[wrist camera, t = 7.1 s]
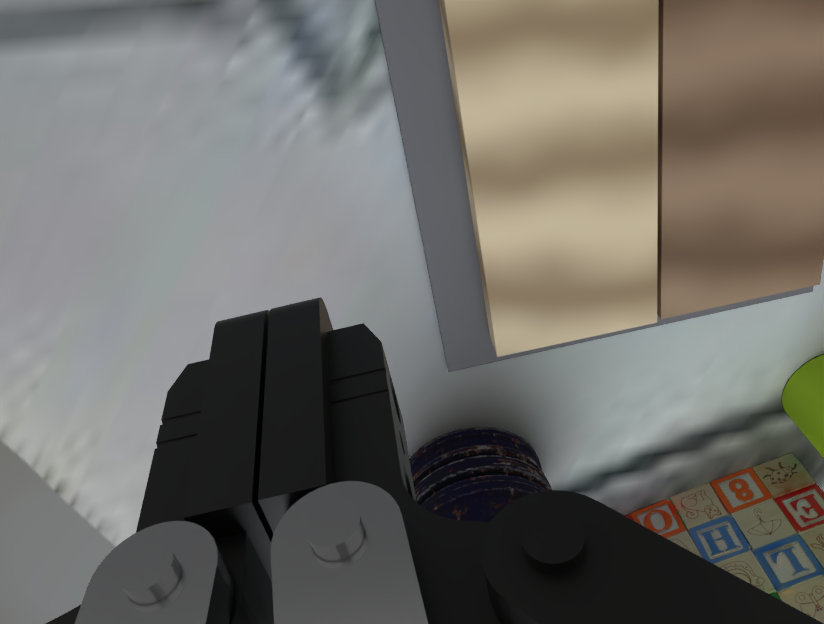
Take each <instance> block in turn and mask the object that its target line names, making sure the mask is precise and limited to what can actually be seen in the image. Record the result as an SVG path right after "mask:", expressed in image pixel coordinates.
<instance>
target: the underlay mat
mask: <svg viewBox="0 0 824 624" xmlns="http://www.w3.org/2000/svg"><path fill="white" fill-rule="evenodd" d="M375 4H376V9H377V14H378V19H379V24H380V29H381V34H382V39H383V44H384V49H385V54H386V59H387V65H388V70H389V75H390V80H391V85H392V90H393V95H394V100H395V105H396V110H397V115H398V120H399V125H400V130H401V135H402V140H403V145H404V150H405V155H406V160H407V166H408V171H409V176H410V181H411V186H412V191H413V196H414V201H415V206H416V211H417V216H418V221H419V226H420V231H421V236H422V241H423V246H424V251H425V256H426V262H427V267H428V272H429V277H430V282H431V287H432V292H433V297H434V302H435V307H436V312H437V317H438V322H439V327H440V332H441V337H442V342H443V347H444V352H445V357H446V363H447V367H448V371H449V372H451V371H455V370H460V369H464V368H469V367H474V366H478V365H483V364H487V363H492V362H496V361H501V360H505V359H510V358H514V357H519V356H523V355H528V354H532V353H537V352H541V351H546V350H550V349H555V348H559V347H564V346H568V345H573V344H577V343H582V342H586V341H591V340H595V339H600V338H604V337H609V336H613V335H618V334H623V333H627V332H632V331H636V330H641V329H645V328H650V327H654V326H659V325H663V324H668V323H672V322H677V321H681V320H686V319H690V318H695V317H699V316H704V315H708V314H713V313H717V312H722V311H726V310H731V309H735V308H740V307H744V306H749V305H753V304H758V303H762V302H767V301H771V300H776V299H781V298H785V297H790V296H794V295H799V294H803V293H808V292H812V291H813V286H809V287H805V288H800V289H796V290H791V291H787V292H782V293H778V294H773V295H769V296H764V297H760V298H755V299H751V300H746V301H742V302H737V303H733V304H728V305H724V306H719V307H715V308H710V309H706V310H701V311H697V312H692V313H688V314H683V315H679V316H674V317H670V318H665V319H660V317H659V316H658V315H657V323H653V324H648V325H643V326H639V327H634V328H630V329H625V330H620V331H616V332H611V333H606V334H602V335H597V336H593V337H588V338H583V339H579V340H574V341H569V342H565V343H560V344H556V345H551V346H546V347H542V348H537V349H532V350H528V351H523V352H519V353H514V354H509V355H505V356H500V357H497V355H496V352H495V349H494V346H493V343H492V341H491V338H490V333H489V326H488V320H487V313H486V307H485V300H484V293H483V287H482V280H481V274H480V267H479V261H478V254H477V248H476V241H475V234H474V228H473V221H472V215H471V208H470V202H469V195H468V188H467V182H466V175H465V169H464V162H463V156H462V149H461V142H460V136H459V129H458V123H457V116H456V110H455V103H454V96H453V90H452V83H451V77H450V70H449V64H448V57H447V51H446V44H445V37H444V31H443V24H442V18H441V11H440V5H439V0H375Z"/></svg>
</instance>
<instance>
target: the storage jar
mask: <svg viewBox="0 0 824 624" xmlns="http://www.w3.org/2000/svg"><path fill="white" fill-rule="evenodd" d="M409 460H410V466H411V473H412V478H413V484H414V490H415V496H416V502H417V503H418V504H419V505H420V506H422V507H423V508H425V509H426V510H428V511H430V512H432V513H434V514H436V515H439V516H441V517H445V518H449V519H453V520H461V521H475V522H491V520H492V519H493V518H494V517H495V515H496V514H497V513H498V512H499V511H500V510H502V509H503V508H504V507H505V506H506V505H508V504H510V503H511V502H513V501H514V500H516V499H519V498H521V497H523V496H525V495H529V494H532V493H536V492H542V491H552V489H551V486H550V484H549V482H548V480H547V479H546V477H545V475H544V473H543V471H542V469H541V465H540V462H539V459H538V457H537V455H536V453H535V451H534V450H533V448H532V447H531V446H530V445H529V444H528V443H527V442H526V441H525V440H523V439H522V438H520V437H519V436H517V435H515V434H513V433H510V432H508V431H505V430H500V429H496V428H486V427H478V428H467V429H461V430H457V431H453V432H450V433H447V434H444V435H442V436H440V437H437V438H436V439H434V440H432V441H430V442H428V443H427V444H426V445H424V446H423V447H422V448H420V449H419V450H418V451H417V452H416V453H415V454H414V455H413V456H412V457H411V458H410V459H409Z"/></svg>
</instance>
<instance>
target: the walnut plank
mask: <svg viewBox="0 0 824 624" xmlns="http://www.w3.org/2000/svg"><path fill="white" fill-rule="evenodd" d="M823 260H824V0H659V5H658V236H657V315H658V316H659V317H660V319H665V318H670V317H674V316H679V315H683V314H688V313H692V312H697V311H701V310H706V309H710V308H715V307H719V306H724V305H728V304H733V303H737V302H742V301H746V300H751V299H755V298H760V297H764V296H769V295H773V294H778V293H782V292H787V291H791V290H796V289H800V288H805V287H809V286H814V285H819V284H820V280H821V273H822V266H823Z"/></svg>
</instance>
